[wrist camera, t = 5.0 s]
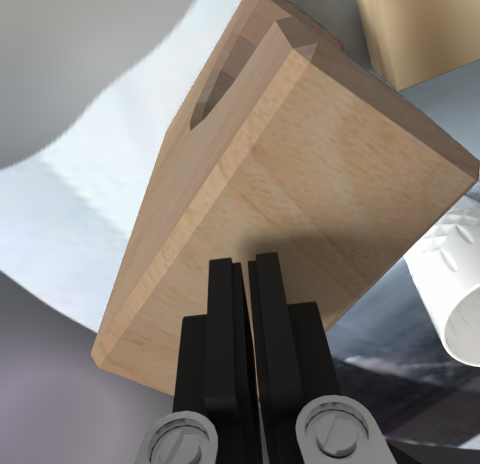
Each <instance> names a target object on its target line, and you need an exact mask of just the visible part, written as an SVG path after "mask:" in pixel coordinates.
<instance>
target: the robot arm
mask: <svg viewBox="0 0 480 464" xmlns="http://www.w3.org/2000/svg"><path fill="white" fill-rule="evenodd" d="M248 273H249V286H250V298H251V310H252V322H253V335H254V346H253V338H252V332H251V325H250V319H249V312H248V306H247V299H246V292H245V286H244V279H243V273H242V266H241V262H236V263H233V262H232V258H231V257H229V258H221V259H212V260H209V275H208V299H207V314H202V315H193V316H185V317H184V318H183V320H182V327H181V337H180V346H179V355H178V365H177V374H176V384H175V393H174V403H173V412H172V414H170V415H167V416H165V417H163V418H162V419H160V420H159V421H157V422H156V423H155V424H153V426H152V427H151V428H150V429H149V430H148V432H147V433H146V434H145V436H144V438H143V441H142V443H141V445H140V448H139V451H138V454H137V457H136V460H135V464H263V456H262V444H261V431H260V418H259V406H258V393H257V383H258V392H259V400H260V406H261V412H262V419H263V425H264V431H265V438H266V444H267V450H268V456H269V463H270V464H421V463H420V462H418V461H416V460H415V459H413V458H411V457H410V456H409V455H407V454H405V453H404V452H402V451H401V450H399V449H397V448H396V447H394V446H393V445H391V444H389V443H388V442H386V441H385V439H384V437H383V435H382V433H381V431H380V429H379V427H378V425H377V423H376V421H375V419H374V418H373V417H372V415H371V414H370V412H369V411H368V410H367V409H366V408H365V407H364V406H362V405H361V404H360V403H359V402H357V401H355V400H353V399H350V398H348V397H345V396H342V395H341V391H340V387H339V383H338V380H337V376H336V372H335V368H334V365H333V361H332V357H331V353H330V350H329V346H328V342H327V338H326V335H325V331H324V327H323V323H322V320H321V316H320V312H319V309H318V305H317V303H316V301H313V302H304V303H296V304H287V301H286V296H285V290H284V285H283V279H282V274H281V268H280V263H279V258H278V252H270V253H262V254H256V260H253V261H248ZM254 347H255V356H254ZM255 359H256V368H255ZM256 371H257V381H256Z"/></svg>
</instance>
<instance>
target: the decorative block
mask: <svg viewBox="0 0 480 464" xmlns="http://www.w3.org/2000/svg"><path fill="white" fill-rule="evenodd" d="M479 167H480V161H479V160H478V159H477V158H475V157H474V156H473V155H472V154H471V153H470V152H468V151H467V150H466V149H465V148H464V147H463V146H461V145H460V144H459V143H458V142H457V141H456V140H454V139H453V138H452V137H451V136H450V135H449V134H447V133H446V132H445V131H444V130H443V129H442V128H440V127H439V126H438V125H437V124H436V123H435V122H433V121H432V120H431V119H430V118H429V117H428V116H426V115H425V114H424V113H423V112H422V111H421V110H419V109H418V108H417V107H416V106H414V105H413V104H411V103H410V102H409V101H407V100H406V99H405V98H403V97H402V96H401V95H399V94H398V93H397V92H395V91H394V90H393V89H391V88H390V87H388V86H387V85H386V84H384V83H383V82H382V81H380V80H379V79H378V78H376V77H375V76H374V75H372V74H371V73H369V72H368V71H367V70H365V69H364V68H363V67H361V66H360V65H359V64H357V63H356V62H355V61H353V60H352V59H351V58H349V57H348V56H346V55H345V54H344V53H343V49H342V43H341V42H340V41H339V40H337V39H336V38H335V37H334V36H333V35H332V34H330V33H329V32H328V31H327V30H325V29H324V28H323V27H321V26H320V25H319V24H317V23H316V22H315V21H313V20H312V19H311V18H309V17H308V16H307V15H305V14H304V13H303V12H301V11H300V10H299V9H297V8H296V7H295V6H293V5H292V4H291V3H289V2H288V1H287V0H242V1H241V3H240V5H239V6H238V8H237V10H236V12H235V13H234V15H233V17H232V18H231V20H230V22H229V24H228V25H227V27H226V29H225V31H224V32H223V34H222V36H221V38H220V39H219V41H218V43H217V44H216V46H215V48H214V50H213V51H212V53H211V55H210V57H209V58H208V60H207V62H206V64H205V65H204V67H203V69H202V70H201V72H200V74H199V76H198V77H197V79H196V81H195V83H194V84H193V86H192V88H191V90H190V91H189V93H188V95H187V97H186V98H185V100H184V102H183V103H182V105H181V107H180V109H179V110H178V112H177V114H176V116H175V117H174V119H173V121H172V123H171V124H170V126H169V128H168V130H167V131H166V134H165V137H164V140H163V143H162V145H161V148H160V151H159V154H158V157H157V160H156V163H155V166H154V169H153V172H152V175H151V178H150V181H149V184H148V187H147V190H146V193H145V196H144V199H143V201H142V204H141V207H140V210H139V213H138V216H137V219H136V222H135V225H134V228H133V231H132V234H131V237H130V240H129V242H128V245H127V248H126V251H125V254H124V257H123V260H122V263H121V266H120V269H119V272H118V275H117V278H116V281H115V284H114V287H113V290H112V292H111V295H110V298H109V301H108V304H107V307H106V310H105V313H104V316H103V319H102V322H101V325H100V328H99V331H98V334H97V337H96V340H95V343H94V346H93V349H92V352H91V355H92V357H93V359H94V360H95V362H96V364H97V365H98V367H99V368H101V369H104V370H107V371H109V372H112V373H114V374H117V375H120V376H122V377H125V378H128V379H130V380H133V381H135V382H138V383H141V384H144V385H146V386H149V387H151V388H154V389H157V390H159V391H162V392H164V393H167V394H170V395H173V396H174V393H175V384H176V374H177V365H178V355H179V346H180V337H181V327H182V320H183V318H184V317H185V316H193V315H202V314H207V299H208V275H209V260H212V259H221V258H229V257H231V258H232V262H233V263H236V262H241V266H242V273H243V279H244V286H245V292H246V299H247V306H248V312H249V319H250V325H251V332H252V338H253V346H254V335H253V322H252V310H251V298H250V286H249V273H248V261H253V260H256V254H262V253H270V252H278V258H279V263H280V268H281V274H282V279H283V285H284V290H285V296H286V301H287V304H296V303H304V302H313V301H316V303H317V305H318V309H319V312H320V316H321V320H322V323H323V327H324V331H325V333H326V332H327V331H328V330H329V329H330V328H331V327H332V326H333V325H334V324H335V323H336V322H337V321H338V320H339V319H340V318H341V317H342V316H343V315H344V314H345V313H346V312H347V311H348V310H349V309H350V308H351V307H352V306H353V305H354V304H355V303H356V302H357V301H358V300H359V299H360V298H361V297H362V296H363V295H364V294H365V293H366V292H367V291H368V290H369V289H370V288H371V287H372V286H373V285H374V284H375V283H376V282H377V281H378V280H379V279H380V278H381V277H382V276H383V275H384V274H385V273H386V272H387V271H388V270H389V269H390V268H391V267H392V266H393V265H394V264H395V263H396V262H397V261H398V260H399V259H400V258H401V257H402V256H403V255H404V254H405V253H406V252H407V251H408V250H409V249H410V248H411V247H412V246H413V245H414V244H415V243H416V242H417V241H418V240H419V239H420V238H421V237H422V236H423V235H424V234H425V233H426V232H427V231H428V230H429V229H430V228H431V227H432V226H433V225H435V224H436V223H437V222H438V221H439V220H440V219H441V218H442V217H443V216H444V215H445V214H446V213H447V212H448V211H449V210H450V209H451V208H452V207H453V206H454V205H455V204H456V203H457V202H458V201H459V200H460V199H461V198H462V197H463V196H464V195H465V194H466V193H467V192H468V191H469V190H470V189H471V188H472V187H473V186H474V185H475V184H476V183H477V182H478V181H479ZM254 356H255V347H254ZM255 368H256V359H255ZM256 381H257V371H256ZM257 393H258V399H259V392H258V383H257Z"/></svg>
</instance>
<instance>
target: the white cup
mask: <svg viewBox="0 0 480 464" xmlns="http://www.w3.org/2000/svg"><path fill="white" fill-rule="evenodd" d="M403 256H404V258H405V260H406V262H407V264H408V267H409V270H410V273H411V276H412V279H413V281H414V283H415V285H416V287H417V290H418V293H419V295H420V297H421V299H422V301H423V303H424V305H425V307H426V310H427V312H428V314H429V316H430V318H431V320H432V322H433V324H434V326H435V329H436V331H437V333H438V335H439V337H440V339H441V341H442V344H443V346H444V348H445V349H446V351H447V352H448V353H449V354H450V355H451V356H452V357H453V358H455V359H456V360H458V361H460V362H462V363H464V364H467V365H471V366H476V367H480V202H478V201H475V200H473V199H471V198H469V197H467V196H465V195H464V196H463V197H462V198H461V199H460V200H459V201H458V202H457V203H456V204H455V205H454V206H453V207H452V208H451V209H450V210H449V211H448V212H447V213H446V214H445V215H444V216H443V217H442V218H441V219H440V220H439V221H438V222H437V223H436V224H435V225H433V226H432V227H431V228H430V229H429V230H428V231H427V232H426V233H425V234H424V235H423V236H422V237H421V238H420V239H419V240H418V241H417V242H416V243H415V244H414V245H413V246H412V247H411V248H410V249H409V250H408V251H407V252H406V253H405V254H404V255H403Z"/></svg>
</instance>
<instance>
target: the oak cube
mask: <svg viewBox="0 0 480 464" xmlns="http://www.w3.org/2000/svg"><path fill="white" fill-rule="evenodd" d="M356 3H357V7H358V11H359V15H360V19H361V24H362V28H363V32H364V36H365V40H366V44H367V48H368V53H369V57H370V61H371V65H372V69H373V71H374V72H375V73H377V74H378V75H379V76H380V77H381V78H382V79H384V80H385V81H386V82H387V83H388V84H389V85H391V86H392V87H393V88H394V89H395V90H396V91H400V90H403V89H405V88H408V87H411V86H413V85H416V84H418V83H421V82H423V81H426V80H428V79H431V78H433V77H436V76H439V75H441V74H444V73H446V72H449V71H451V70H454V69H456V68H459V67H461V66H464V65H466V64H469V63H472V62H474V61H477V60H479V59H480V0H356Z"/></svg>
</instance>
